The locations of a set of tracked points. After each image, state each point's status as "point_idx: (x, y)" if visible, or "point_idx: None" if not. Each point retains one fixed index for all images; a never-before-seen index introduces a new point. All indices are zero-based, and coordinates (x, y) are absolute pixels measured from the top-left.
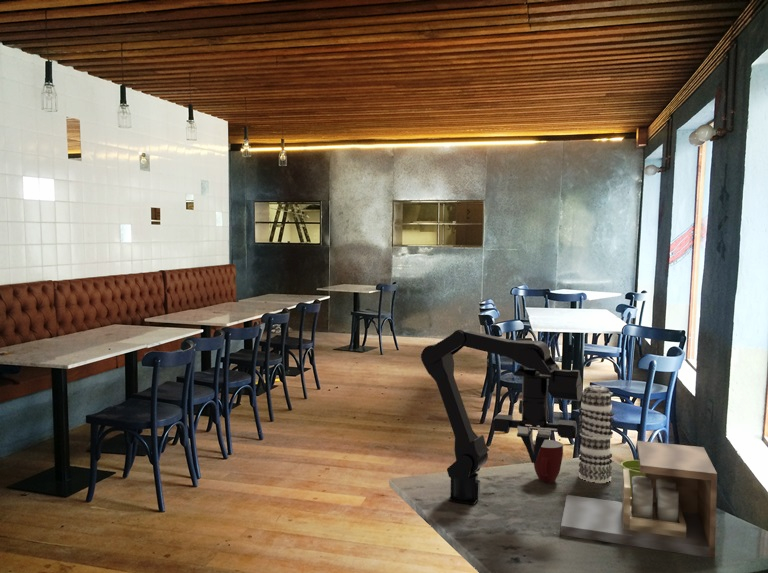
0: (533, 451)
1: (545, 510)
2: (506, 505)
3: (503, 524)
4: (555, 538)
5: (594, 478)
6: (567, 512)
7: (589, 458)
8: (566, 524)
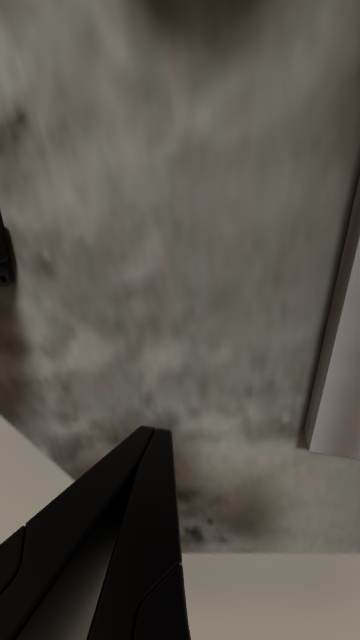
0: (113, 526)
1: (258, 246)
2: (108, 245)
3: (135, 393)
4: (285, 448)
5: None
6: (351, 345)
7: None
8: (329, 441)
